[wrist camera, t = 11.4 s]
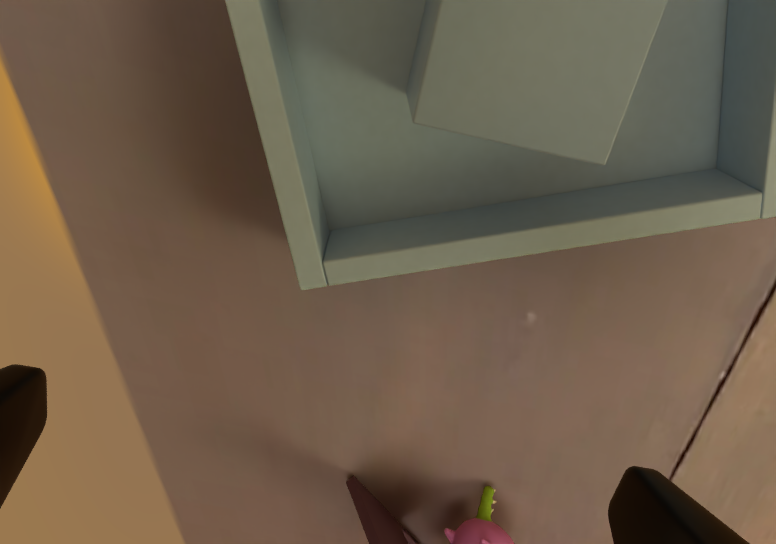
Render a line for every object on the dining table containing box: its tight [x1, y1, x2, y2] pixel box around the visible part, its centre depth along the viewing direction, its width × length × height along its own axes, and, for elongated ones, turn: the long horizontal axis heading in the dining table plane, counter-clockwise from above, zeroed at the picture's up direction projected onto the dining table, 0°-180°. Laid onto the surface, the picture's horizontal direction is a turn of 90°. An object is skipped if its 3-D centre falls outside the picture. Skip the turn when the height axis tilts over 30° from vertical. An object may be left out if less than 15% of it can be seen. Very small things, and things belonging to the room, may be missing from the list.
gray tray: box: [225, 0, 776, 290], centre depth 15 cm, size 14×12×3 cm
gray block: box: [406, 0, 668, 165], centre depth 14 cm, size 4×4×4 cm
